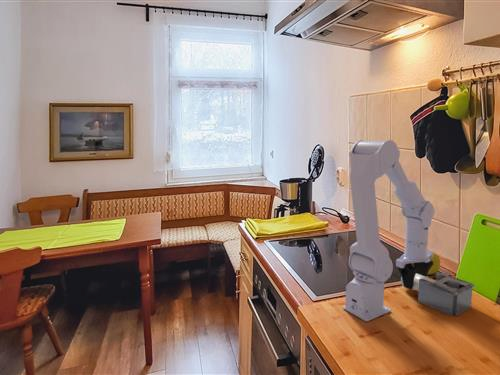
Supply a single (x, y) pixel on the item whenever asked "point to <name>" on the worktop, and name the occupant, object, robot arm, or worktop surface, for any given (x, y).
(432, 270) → the lemon
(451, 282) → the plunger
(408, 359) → the worktop surface
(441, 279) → the housing
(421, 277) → the cartridge
